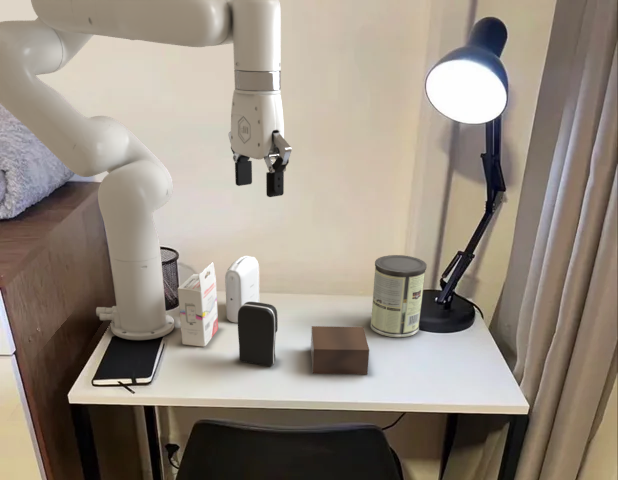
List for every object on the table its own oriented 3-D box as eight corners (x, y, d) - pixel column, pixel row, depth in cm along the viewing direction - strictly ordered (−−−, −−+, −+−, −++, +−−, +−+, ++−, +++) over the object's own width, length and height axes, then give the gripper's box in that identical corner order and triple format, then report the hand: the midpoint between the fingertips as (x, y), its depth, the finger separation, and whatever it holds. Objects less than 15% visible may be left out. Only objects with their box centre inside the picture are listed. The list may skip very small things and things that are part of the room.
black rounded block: (279, 359, 126) (280, 302, 120) (273, 367, 122) (273, 310, 117) (244, 353, 127) (243, 297, 121) (237, 362, 124) (236, 305, 118)
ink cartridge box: (195, 327, 137) (191, 258, 129) (218, 329, 136) (216, 260, 129) (180, 344, 130) (175, 272, 122) (204, 347, 129) (201, 275, 121)
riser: (312, 373, 121) (313, 349, 118) (310, 349, 129) (311, 326, 127) (367, 374, 121) (369, 349, 119) (361, 350, 130) (363, 326, 127)
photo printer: (242, 324, 139) (241, 267, 132) (223, 321, 140) (221, 264, 134) (262, 307, 147) (261, 252, 141) (244, 304, 148) (243, 250, 142)
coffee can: (377, 314, 145) (383, 251, 138) (423, 322, 142) (432, 259, 135) (363, 332, 137) (368, 266, 130) (411, 341, 134) (419, 274, 127)
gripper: (210, 78, 112) (215, 183, 120) (269, 88, 100) (269, 203, 109) (247, 77, 116) (249, 178, 124) (308, 86, 104) (305, 197, 113)
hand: (259, 190), depth 116 cm, fingers open, 9 cm apart
